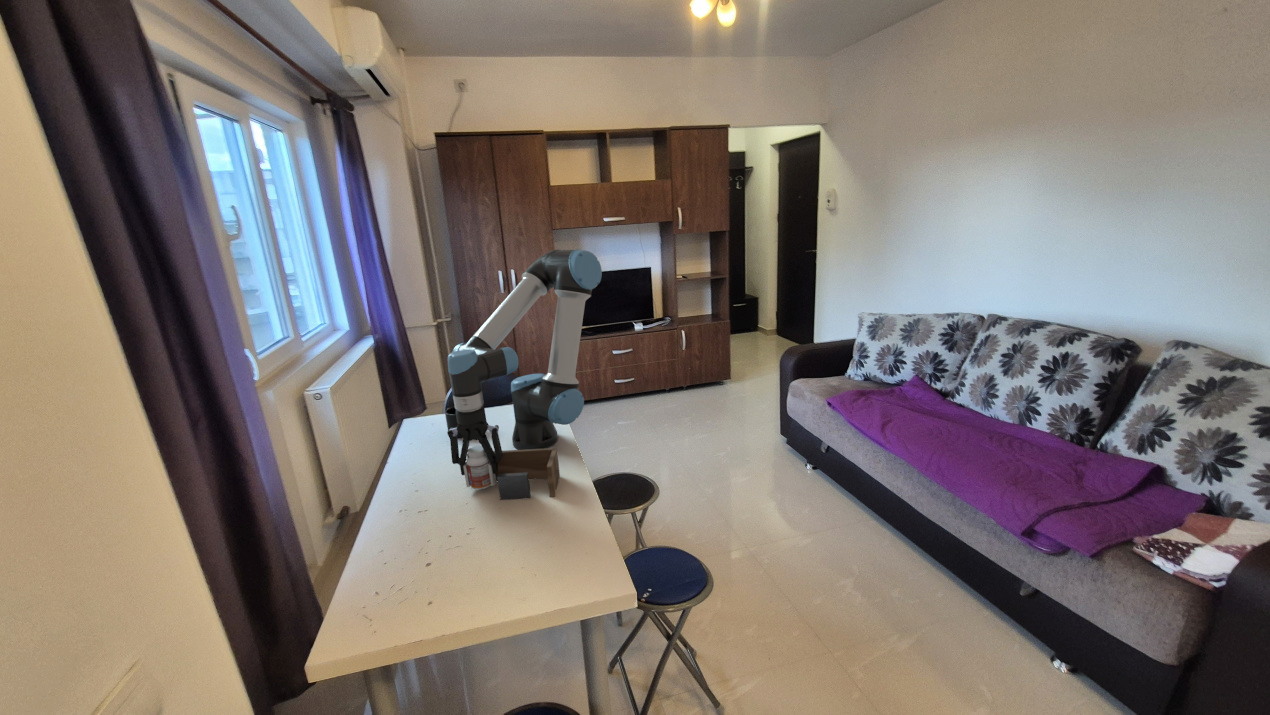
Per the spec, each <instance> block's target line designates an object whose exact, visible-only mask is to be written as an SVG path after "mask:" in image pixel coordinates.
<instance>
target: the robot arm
mask: <svg viewBox="0 0 1270 715" xmlns="http://www.w3.org/2000/svg"><path fill="white" fill-rule="evenodd" d="M602 274H603V270H602V265H601V263H600V261H599V260H598V257H597V256H596V255H595V254H594V253H593V252H591V251H588V250H585V249H577V248H576V249H552V250H549V251H547V252H545V253H543V254H542V255H540V256H539V257H538V258H537V259H536V260H534V262H533V263H531V265H529V266H528V268H526V270H525V271H524V272H523V273H522V274H521V280H520V282H519V283H518V284H517V285H516V286H515V287H514V289H513V290H512V291H511V292H510V293H509V294H508V295H507V297H506V298H505V299H504V300H503V301H502V302H501V303H500V304H499V305H498V307H497V308H496V309H495V310H494V311H493V312H492V314H491V315H490V316H489V317H488V318H487V320H485V321H484V323H483V324H482V325H481V326H480V328H479V329H478V330H477V331H475V332H474V334H473V335H472V336H471V337H470V339H468V341H467V342H462V343H461V342H460V343H459V344H456V345H455V347H454V348H453V349H452V352H450V353H449V354H448V356H447V369H448V370H447V372H448V375H449V380H450V385H451V391H452V392H451V393H452V399H453V404H454V405H453V406H454V407H455V409H457V410H456V418H457V423H458V426H457V427H456V428H451V429H450V430H449V431H448V430H447V432H446V433H447V436H448V438H449V440H450V441H449V442H450V444H449V445H450V453H451V464H454V465H459V469H460V473H461V476H464V479H465V486H466V488H471V486H470V480H469V474H468V468H467V454H468V449H469V448H470V447H469V446H470V442H472V441H478V443H479V445H480V446H482V447H483V449H484V451H485V453H486V455H487V457H488V459H489V461H490V462H489V464H488V468H489V474H490V481H491V487H493V486H495V484H496V483H497V481H496V475H495V474H496V473H497V471H498V465H497V462H499V461H501V459H502V457H503V453H502V451H503V450H502V444H501V440H500V436H499V429H500V428H499V425H497V424H495V425H494V426H493V425H489V423H488V422H487V415H486V410H485V406H484V404H485V402H484V397H483V396H484V395H483V390H482V388H483V387H482V383H484V382H488V381H490V380H494V379H498V378H500V377H504V376H508V375H510V374H512V373H515V372H516V371H517V370H518V368H519V357H518V354H517V352H516V351H515V350H514V349H513V348H512V347H510V346H506V347H500V348H498V347H499V345H500V344H501V343H502V342H503V341H504V339H506V337H507V336H508V335H509V334H510V333H511V331H512V330H513V329H514V328H515V326H516V325H517V324H518V323H519V322H520V321H521V319H522V318H523V317H524V316H525V315H526V314H527V312H528V311H529V310H530V309H531V307H533V305H534V304H535V303H536V302H537V301H538V299H539V298H540V297H541V296H545V295H547V294H548V293H549V291H551V290H552V289H553V292H554V293H555V295H556V296H557V300H556V301H557V303H556V310H555V315H554V317H555V318H554V324H553V332H552V338H551V346H550V354H549V361H548V368H547V373H546V374H544V373H531V374H530V373H529V374H525V375H522V376H519V377H516V378H514V379H513V380H512V381H511V382H510V393H511V398H512V406H513V413H514V421H515V422H514V423H515V424H514V428H513V432H512V437H511V438H512V439H511V440H512V441H511V443H512V446H513V448H514V449H515V450H526V449H544V448H551V447H552V446H553V445H555V444H556V443H557V442H558V440H559V436H558V430H557V429H556V427H555V424H559V425H562V426H563V425H565V426H567V425H570V424H572V423H574V422H575V421H576V419H578V418H579V417H580V415H581V414H582V412H583V409H584V404H585V398H584V396H583V393H582V392H581V391H580V389H579V384H580V381H579V380H578V379H577V378H576V377H577V376H576V372H577V365H578V357H579V351H580V344H581V342H580V341H581V335H582V329H583V321H584V320H583V319H584V314H585V306H586V302H587V300H588V299H589V298H591V297H592V291H593V289H596V287H598V285H599V284H600V283H601V281H602ZM497 348H498V349H497ZM487 431H488V432H489V434H490V435H491V442H492V445H491V443H490V441H489V439H488V436H487V434H486V433H487ZM458 432H459V433H460V434H461V435H462V436H463V438H462V445H461V451H460V450H459V440H458V439H459V438H458V437H457V434H458ZM492 446H493V447H492ZM494 451H495V453H494Z"/></svg>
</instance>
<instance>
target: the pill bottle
mask: <svg viewBox="0 0 1270 715" xmlns="http://www.w3.org/2000/svg"><path fill="white" fill-rule="evenodd" d="M467 454H468V456H469V457H468V458H466V459H467V460H466V462H467V468H468V474H469V480H470V488H471V489H473V490H476V491H478V490H484V489H487V488H489V487H490V486H491V481H490V474H489V468H488V464H489V462H490V461H489V459H488V457H487V455H486V453H485V451H484V449H483V447H482V445H474V446H471V447H468V452H467ZM491 487H492V486H491Z"/></svg>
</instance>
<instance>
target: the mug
mask: <svg viewBox="0 0 1270 715" xmlns="http://www.w3.org/2000/svg"><path fill="white" fill-rule="evenodd" d="M456 410H457V409H455V406H451V407H450V408H447V409H446V410H445V411H444V414H445V420H446V427H447V432H448V431H449V430H450V429H451V428H456V427H457V426H458V423H457V418H456ZM457 437H458V439H463V436H462V435H461V434H460V433H459V432H458V434H457Z"/></svg>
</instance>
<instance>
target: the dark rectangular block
mask: <svg viewBox="0 0 1270 715" xmlns="http://www.w3.org/2000/svg"><path fill="white" fill-rule="evenodd" d="M497 480H498V481H497V486H498V494H499V501H504V500H521V499H522V500H524V499H525V500H527V499H530V498H531V496H532V494H531V487H530V480H529V477H528V472H526V473H507V474H498V476H497Z"/></svg>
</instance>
